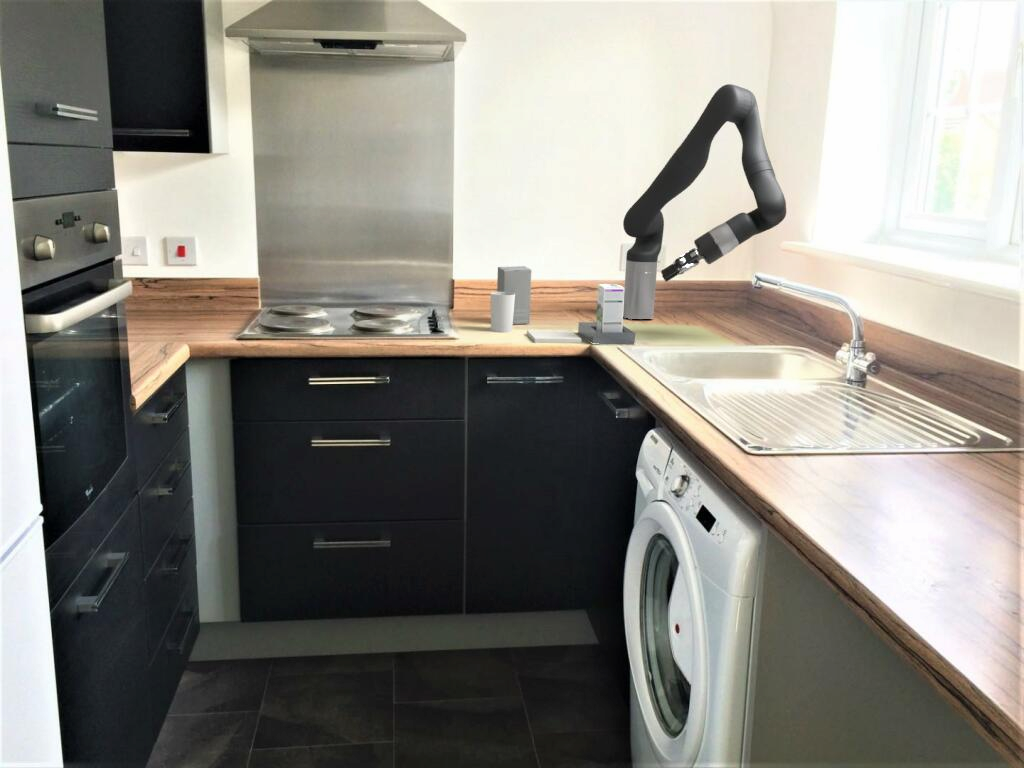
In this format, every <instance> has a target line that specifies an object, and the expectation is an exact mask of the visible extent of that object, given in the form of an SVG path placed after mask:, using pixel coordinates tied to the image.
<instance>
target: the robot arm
mask: <svg viewBox="0 0 1024 768" xmlns="http://www.w3.org/2000/svg"><path fill="white" fill-rule="evenodd" d="M760 119H761V118H760V112H759V105H758V102H757V98H756V96H755V94H754V93H753V92H752V91H751V90H750V89H748V88H745V87H741V86H738V85H735V84H732V83H730V84H729V83H727V84H724V85H722V86H721V87H719V88H718V89H717V90H716V91H715V93H714V94H713V95H712V97H711V99H710V100H709V102H708V103H707V105H706V106H705V108H704V110H703V111H702V114H701V115H700V117H699V118H698V119H697V121H696V122H695V124H694V126H693V127H692V128H691V130H690V131H689V133H688V134H687V135H686V137H685V138H684V139H683V141H682V143H680V145H679V146H678V148H677V149H676V150H674V153H673V154H672V155H671V156H670V158H669V160H668V161H667V162H666V164H665V165H664V167H663V168H662V169H661V171H660V172H659V173H658V175H657V176H656V177H654V178H655V179H653V181H652V182H651V184H650V185H649V187H648V188H647V189H645V191H644V193H643V194H642V195H641V196H640V197H639V198H638V199H637V200H636V201H635V203H633V204H632V205H631V207H629V209H628V210H627V211H626V212H625V213H626V214H625V215H624V216H623V217H624V218H623V223H622V225H623V230H624V232H625V234H626V235H628V236H629V237H632V238H635V240H634V244H633V245H632V246H631V247H630V248H629V249H628V250H627V251H626V259H625V273H624V276H625V277H624V286H623V287H624V288H625V289H624V308H623V317H624V318H623V319H626V318H628V319H627V320H632V319H651V318H653V319H654V311H655V299H656V288H657V287H656V285H657V282H656V281H657V271H658V259H659V255H660V253H661V250H662V246H663V245H662V244H663V237H664V229H665V220H664V219H665V218H664V215H663V213H662V209H663V208H664V207H665V206H666V205H667V204H668V203H669V202H671V201H672V200H673V199H674V198H676V197H677V196H679V195H681V194H682V193H683V192H684V191H686V189H688V188H689V187H690V186H692V184H693V183H694V182H695V180H696V179H697V178H698V177H699V175H700V174H702V172H703V170H704V168H705V167H706V165H707V163H708V160H709V156H710V151H711V148H712V143H713V140H714V138H715V137H716V135H717V134H718V132H719V131H720V130H721V128H723V126H724V125H725V124H726V123H728V122H729V123H732V124H734V125H735V126H736V129H737V130H738V132H739V135H740V137H741V142H742V149H741V165H742V168H743V172H744V176H745V177H746V180H747V184H748V186H749V188H750V190H751V191H752V194H753V197H754V200H755V202H756V206H757V208H754V209H753V210H751V211H749V212H747V213H746V212H740V213H737V214H736V215H733V217H731V218H729V219H728V220H727V221H725V222H723V223H721V224H719V225H716V226H715V227H713V228H711V229H710V230H709V231H707V232H705V233H704V234H702V235H700V236H699V237H697V238H696V239H695V240H694V245H695V247H696V248H692V249H690V250H688V251H687V252H686V253H684V254H682V255H680V256H679V257H677V258H675V260H674V261H673V263H671V264H670V265H668V266H666V267H665V268H664V269H662V270H661V271H660V273H661V276H662V278H663V280H664V281H665V282H669V281H670V280H672V279H674V278H675V277H677V276H679V275H683V274H684V273H686V272H689V270H690V271H691V269H693V268H695V267H696V266H698V265H699V264H700V261H701V260H702V259H703V260H704V262H705V263H706V264H707V265H711V264H713V263H714V262H716V261H718V260H719V259H721V258H722V257H724V256H725V255H727V254H729V253H730V252H732V251H734V250H735V248H737V247H738V246H739V245H741V244H743V243H744V242H746V241H748V240H749V239H751V238H753V237H754V236H755V235H759V234H761V233H764V232H766V231H770V230H771V229H773V228H775V227H777V225H780V223H782V222H783V221H784V219H785V217H786V216H787V203H786V198H785V196H784V193H783V190H782V188H781V186H780V184H779V182H778V180H777V177H776V173H775V170H774V167H773V165H772V162H771V159H770V157H769V154H768V151H767V147H766V144H765V139H764V135H763V134H764V133H763V128H762V124H761V120H760Z"/></svg>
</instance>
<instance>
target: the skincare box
mask: <svg viewBox="0 0 1024 768" xmlns="http://www.w3.org/2000/svg"><path fill="white" fill-rule="evenodd" d="M532 272H533V271H532V268H529V267H527V266H525V265H522V266H521V265H520V266H497V282H496V283H497V284H496V285H497V287H496V288H497V289H496V290H497V291H496V292H511V293H515V302H514V314H513V325H524V324H525V325H527V324H530V322H531V294H532V293H531V292H532V290H531V289H532Z"/></svg>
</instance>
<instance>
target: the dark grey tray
mask: <svg viewBox="0 0 1024 768" xmlns="http://www.w3.org/2000/svg"><path fill="white" fill-rule="evenodd" d="M577 333H578V335H580V336H581V337H583V338H584V339H585V338H586V339H587V341H588V340H589V341H590V342H592V343H599V344H634V343H636V332H635V331H632V330H631V329H629V328H627V327H626V326H624V325H623V328H622V332H597V331H596V321H594V322H593V321H592V322H591V321H582V322H581V321H579V322H578V332H577ZM586 339H585V340H586ZM589 341H588V342H589ZM590 342H589V343H590ZM592 343H591V344H592Z"/></svg>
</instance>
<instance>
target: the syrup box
mask: <svg viewBox="0 0 1024 768" xmlns="http://www.w3.org/2000/svg"><path fill="white" fill-rule="evenodd" d="M624 287H625V286H622V285H619V284H616V283H602V284H599V283H598V284H597V297H596V317H595V318H596V319H595V322H596V331H597V332H622V328H623V326H624V325H623V324H624V318H623V308H624V289H625V288H624Z"/></svg>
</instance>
